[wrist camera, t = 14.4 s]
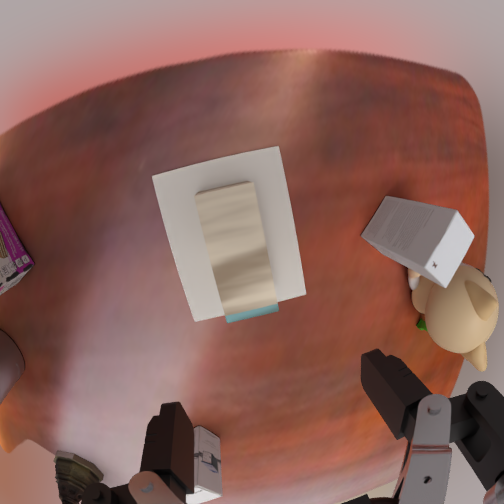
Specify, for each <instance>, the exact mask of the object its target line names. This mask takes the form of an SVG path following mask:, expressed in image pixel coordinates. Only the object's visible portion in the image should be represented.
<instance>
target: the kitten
mask: <svg viewBox="0 0 504 504" xmlns="http://www.w3.org/2000/svg"><path fill="white" fill-rule="evenodd" d="M488 279H489V280H488ZM408 281H409V285H410V288H411V289H412V302H413V305H414V307H415V308H416V310H417V311H419V312H420V313H423V314H425V321H423V320H422V319H420V321H419V323H418V324H417V325H416V326H417V327H418V328H419V329H420V330H423V329H424V330H426V331H428V333H429V335H430V336H431V338H432V339H433V340H434V342H435V343H437V344H438V345H439V346H440V347H442V348H444V349H446V350H448V351H451V352H455V353H461V355H462V356H463V357H464V358H465V359H466V360H468V361H469V362H470V363H471V364H472V365H473V366H474V367H475V368H476V369H477V370H478V371H485V370H486V367H487V356H486V345H485V342H486V341H487V340H488V338H489V337H490V335H491V334H492V332H493V330H494V328H495V326H496V323H497V319H498V312H499V304H498V298H497V294H496V291H495V289H494V287H493V285H492V284H491V280H490V278H489V277H488V276H486V275H484V274H483V273H482V272H481V271H480V270H479V269H477V268H474V267H472V266H470V265H468V264H465V263H460V265H459V267H458V268H457V270H456V272H455V274H454V275H453V277H452V279H451V281H450V282H449V284H448V286H447V287H446V288H444V287H442V286H440V285H438V284H436V283H435V282H433V281H431V280H429V279H428V278H426V277H424V276H422V275H420V274H419V273H417V272H415V271H413V270H411V269H409V268H408Z"/></svg>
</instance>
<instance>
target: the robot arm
mask: <svg viewBox="0 0 504 504" xmlns="http://www.w3.org/2000/svg"><path fill="white" fill-rule="evenodd" d="M24 369H25V365H24V360H23V357H22V355H21V353H20V351H19V349H18V347H17V346H16V345H15V343H14V342H13V341H12V340H11V338H10V337H9V336H8V335H7V334H5V333H4V332H3V331H1V330H0V404H1V403H2V401H3V400H4V398H5V397H6V396H7V394H8V393H9V391H10V390H11V389H12V387H13V386H14V384H15V383H16V382H17V381H18V379H19V378H20V376H21V375H22V374H23V372H24ZM361 383H362V386H363V389H364V391H365V392H366V394H367V395H368V397H369V398H370V400H371V401H372V403H373V404H374V406H375V407H376V409H377V410H378V412H379V413H380V415H381V416H382V418H383V419H384V421H385V422H386V424H387V425H388V427H389V428H390V430H391V432H392V433H393V435H394V436H395V438H396V439H397V440H398V439H400V438H402V437H404V436H405V437H406V439H407V440H408V442H407V446H406V450H405V455H404V459H403V463H402V467H401V471H400V475H399V478H398V481H397V484H396V487H395V490H394V493H393V496H392V498H388V497H379V498H371V499H369V497H368V495H367V494H366V495H363V496H361V497H358V498H356V499H353V500H350V501H348V502H345V503H342V504H444V501H445V496H446V490H447V485H448V479H449V473H450V465H451V457H452V449H451V448H449V443H452V442H455V443H456V445H457V446H458V448H459V449H460V451H461V452H462V454H463V455H464V457H465V458H466V460H467V461H468V463H469V464H470V466H471V467H472V469H473V470H474V472H475V473H476V475H477V477H478V478H479V480H480V481H481V483H482V485H483V486H484V488H485V489H486V491H487V492H486V494H485V497H484V500H483V504H504V397H503V396H502V394H500V392H499V391H498V390H497V389H496V388H495V387H494V386H493V385H492V384H490V383H488V382H486V381H478V382H475V383H473V384H472V385H471V386H470V387H469V388H468V391H467V393H466V394H463V395H459V396H456V397H453V398H446V397H445V396H443V395H439V394H432V393H431V392H430V391H429V390H428V389H427V387H426V386H425V385H424V384H423V383H422V382H421V381H420V380H419V379H418V377H417V376H416V375H415V374H414V373H412V371H411V370H410V369H409V368H407V366H406V364H405V363H404V362H403V361H402V360H401V359H399V358H397V357H395V356H393V355H389V356H387V357H386V356H385V355H384V354H383V353H382V352H381V351H380V350H379V349H375V350H372V351H370V352H367V353H364V354H362V356H361ZM186 494H194V429H193V425H192V423H191V421H190V419H189V418H188V416H187V414H186V412H185V410H184V409H183V407H182V405H181V403H180V402H172V403H164V404H162V405H161V409H160V415H159V416H153V418H152V419H151V421H150V422H149V424H148V426H147V431H146V437H145V444H144V449H143V455H142V461H141V467H140V472H139V473H137V474H135V475H134V476H133V477H132V478H131V479H130V481H129V483H128V484H125V485H121V486H117V487H113V488H109V487H108V486H107V485H105V484H103V483H92V484H90V485H89V486H87V487H86V488H85V490H84V492H83V496H82V502H81V504H187V503H186Z"/></svg>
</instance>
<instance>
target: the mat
mask: <svg viewBox="0 0 504 504" xmlns="http://www.w3.org/2000/svg"><path fill="white" fill-rule="evenodd" d="M152 179H153V183H154V187H155V191H156V195H157V199H158V203H159V207H160V211H161V214H162V218H163V222H164V225H165V229H166V233H167V236H168V240H169V243H170V246H171V250H172V253H173V257H174V260H175V263H176V266H177V270H178V273H179V276H180V279H181V282H182V285H183V289H184V292H185V295H186V298H187V301H188V304H189V307H190V310H191V312H192V315H193V318H194V321H195V322H196V321H201V320H205V319H210V318H214V317H218V316H223V315H225V314H224V310H223V307H222V303H221V300H220V296H219V292H218V289H217V285H216V281H215V278H214V274H213V270H212V266H211V263H210V259H209V255H208V251H207V247H206V243H205V239H204V235H203V231H202V227H201V223H200V219H199V215H198V211H197V207H196V203H195V198H194V195H195V194H196V193H197V192H200V191H204V190H208V189H212V188H217V187H221V186H225V185H230V184H234V183H239V182H244V181H250V182H254V187H255V192H256V197H257V202H258V206H259V211H260V216H261V221H262V226H263V231H264V236H265V241H266V246H267V251H268V256H269V261H270V266H271V271H272V277H273V282H274V287H275V292H276V297H277V302H279V301H283V300H287V299H291V298H294V297H298V296H302V295H305V294H306V290H305V283H304V277H303V271H302V265H301V259H300V253H299V247H298V241H297V236H296V230H295V225H294V219H293V214H292V209H291V203H290V198H289V193H288V188H287V183H286V178H285V173H284V169H283V164H282V159H281V154H280V150H279V146H276V147H270V148H265V149H260V150H255V151H250V152H245V153H240V154H236V155H231V156H227V157H222V158H218V159H214V160H210V161H205V162H201V163H197V164H194V165H190V166H186V167H182V168H179V169H175V170H171V171H168V172H164V173H161V174H157V175H154V176H152Z"/></svg>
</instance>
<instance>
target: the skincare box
mask: <svg viewBox="0 0 504 504" xmlns="http://www.w3.org/2000/svg"><path fill="white" fill-rule="evenodd" d="M361 237H362V238H364V239H365V240H366V241H367V242H368V243H369V244H371V245H372V246H373V247H374V248H376V249H377V250H378V251H379V252H380V253H382V254H383V255H385V256H387V257H389V258H391V259H393V260H395V261H396V262H398V263H400V264H402V265H404V266H406V267H408V268H409V269H411V270H413V271H415V272H417V273H419V274H420V275H422V276H424V277H426V278H428V279H429V280H431V281H433V282H435V283H436V284H438V285H440V286H442V287H444V288H446V287H447V286H448V284H449V282H450V281H451V279H452V277H453V275H454V274H455V272H456V270H457V268H458V267H459V265H460V263H461V261H462V260H463V258H464V256H465V254H466V252H467V250H468V248H469V246H470V244H471V242H472V240H473V238H474V234H473V233H472V231H471V230H470V228H469V227H468V225H467V224H466V222H465V221H464V219H463V218H462V216H461V215H460V213H459V212H458V211H457V210H454V209H449V208H445V207H440V206H436V205H431V204H426V203H422V202H417V201H412V200H407V199H402V198H397V197H391V196H385V198H384V200H383V201H382V203H381V205H380V206H379V208H378V210H377V211H376V213H375V214H374V216H373V218H372V219H371V221H370V222H369V224H368V225H367V227H366V228H365V230H364V232H363V233H362V234H361Z"/></svg>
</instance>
